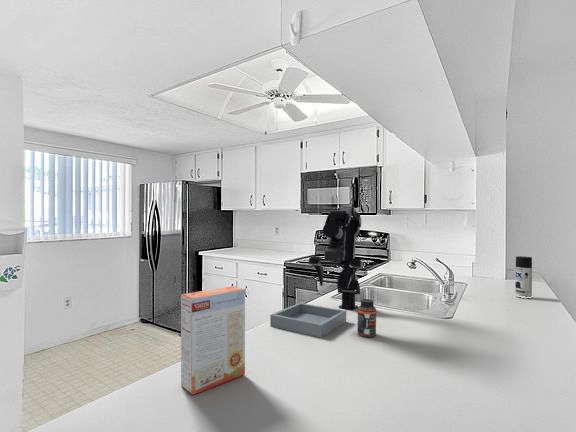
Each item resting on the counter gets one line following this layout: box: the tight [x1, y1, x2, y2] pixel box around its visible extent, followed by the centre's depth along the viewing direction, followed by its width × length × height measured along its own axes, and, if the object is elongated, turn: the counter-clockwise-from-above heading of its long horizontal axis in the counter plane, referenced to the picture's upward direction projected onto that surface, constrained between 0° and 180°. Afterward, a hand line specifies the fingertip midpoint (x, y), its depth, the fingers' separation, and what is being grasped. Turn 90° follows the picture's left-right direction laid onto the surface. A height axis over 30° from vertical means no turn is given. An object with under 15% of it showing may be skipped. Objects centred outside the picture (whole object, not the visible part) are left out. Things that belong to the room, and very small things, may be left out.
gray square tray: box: [269, 302, 347, 338], centre depth 120 cm, size 20×20×4 cm
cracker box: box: [180, 285, 246, 396], centre depth 77 cm, size 14×6×21 cm, turn 133°
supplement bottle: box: [356, 298, 377, 338], centre depth 109 cm, size 6×6×11 cm
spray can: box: [514, 256, 533, 297], centre depth 164 cm, size 7×7×20 cm
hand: (333, 286), depth 117 cm, fingers open, 9 cm apart
